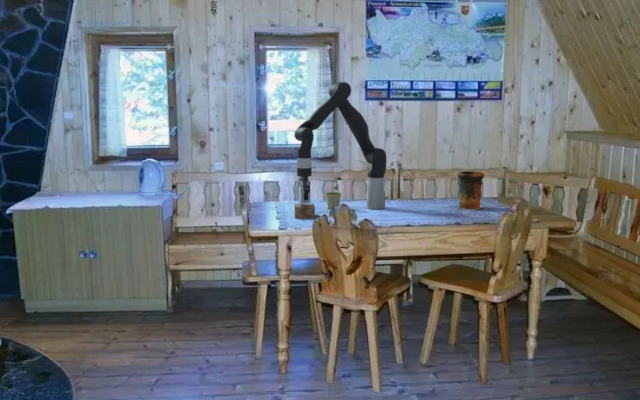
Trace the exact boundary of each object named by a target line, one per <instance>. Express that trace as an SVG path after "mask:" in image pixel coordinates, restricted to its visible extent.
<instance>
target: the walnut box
mask: <svg viewBox="0 0 640 400" xmlns="http://www.w3.org/2000/svg"><path fill="white" fill-rule="evenodd" d="M315 210H316V207H315V204H314V203H305V204H301V203H294V218H295V219H316V217H315V216H316V215H315V214H316V212H315Z"/></svg>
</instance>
